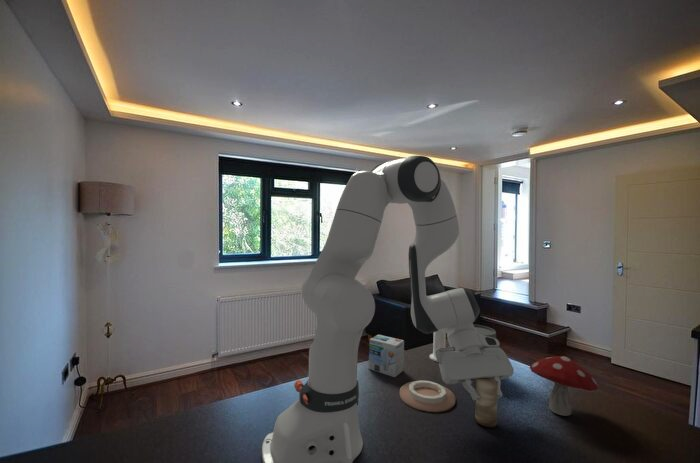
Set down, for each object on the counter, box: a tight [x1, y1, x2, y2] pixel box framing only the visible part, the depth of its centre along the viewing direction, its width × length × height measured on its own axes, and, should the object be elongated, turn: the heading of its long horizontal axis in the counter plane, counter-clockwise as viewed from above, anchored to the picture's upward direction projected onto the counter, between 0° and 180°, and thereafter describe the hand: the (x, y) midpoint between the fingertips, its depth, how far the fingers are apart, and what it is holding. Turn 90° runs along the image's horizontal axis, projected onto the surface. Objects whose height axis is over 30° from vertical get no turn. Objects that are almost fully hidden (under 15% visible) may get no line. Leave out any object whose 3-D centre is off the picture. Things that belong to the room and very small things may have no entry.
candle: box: [429, 329, 447, 363], centre depth 123 cm, size 7×7×25 cm
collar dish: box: [399, 379, 456, 413], centre depth 95 cm, size 16×16×2 cm
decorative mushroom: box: [529, 355, 599, 417], centre depth 88 cm, size 16×16×15 cm
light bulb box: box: [368, 334, 405, 378], centre depth 112 cm, size 11×7×11 cm, turn 55°
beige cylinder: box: [474, 378, 498, 428], centre depth 82 cm, size 5×5×10 cm
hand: (488, 398), depth 82 cm, fingers closed on beige cylinder, 5 cm apart
